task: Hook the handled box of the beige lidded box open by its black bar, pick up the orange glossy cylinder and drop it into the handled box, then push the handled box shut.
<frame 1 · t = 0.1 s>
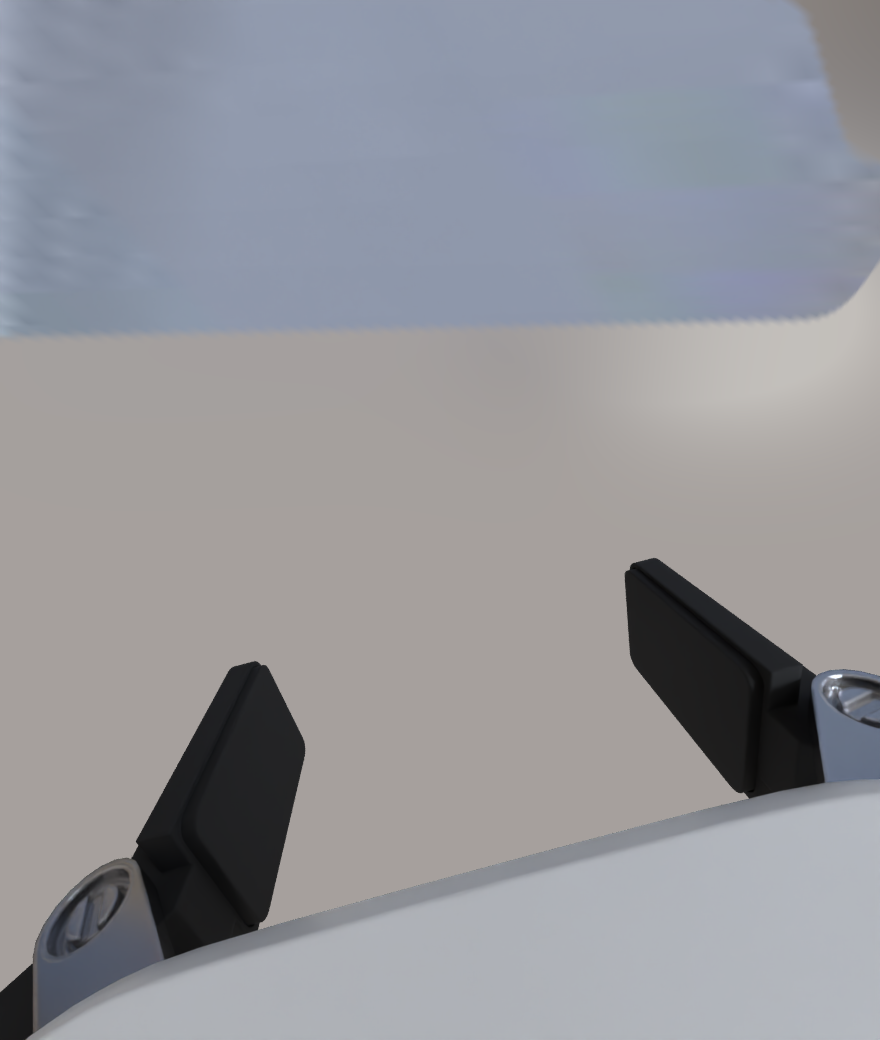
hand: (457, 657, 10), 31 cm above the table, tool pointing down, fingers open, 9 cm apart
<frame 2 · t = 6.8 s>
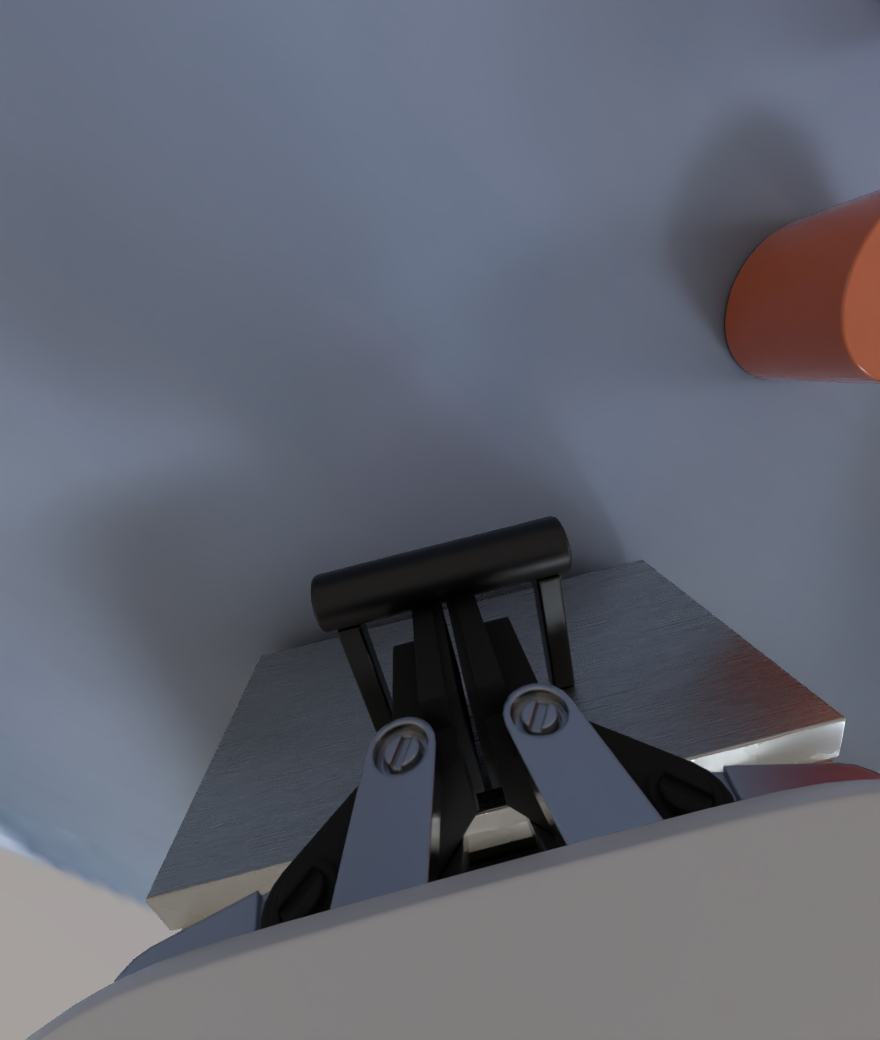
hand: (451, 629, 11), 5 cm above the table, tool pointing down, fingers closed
orange glossy cylinder: (793, 303, 14), on the table
handled box: (496, 784, 14), point 5 cm above the table, slide at 1.1 cm, touching gripper
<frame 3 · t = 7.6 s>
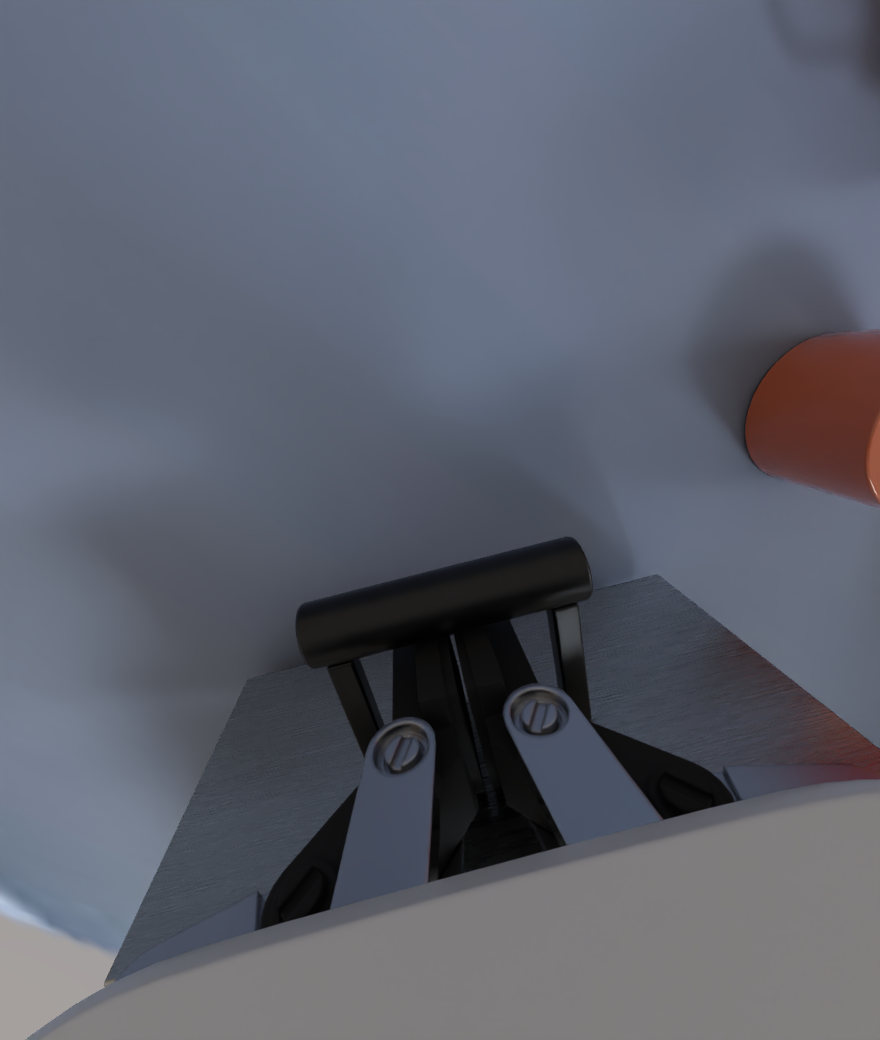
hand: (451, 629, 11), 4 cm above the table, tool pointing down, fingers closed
orange glossy cylinder: (812, 410, 14), on the table
handled box: (502, 821, 13), point 5 cm above the table, slide at 4.7 cm, touching gripper
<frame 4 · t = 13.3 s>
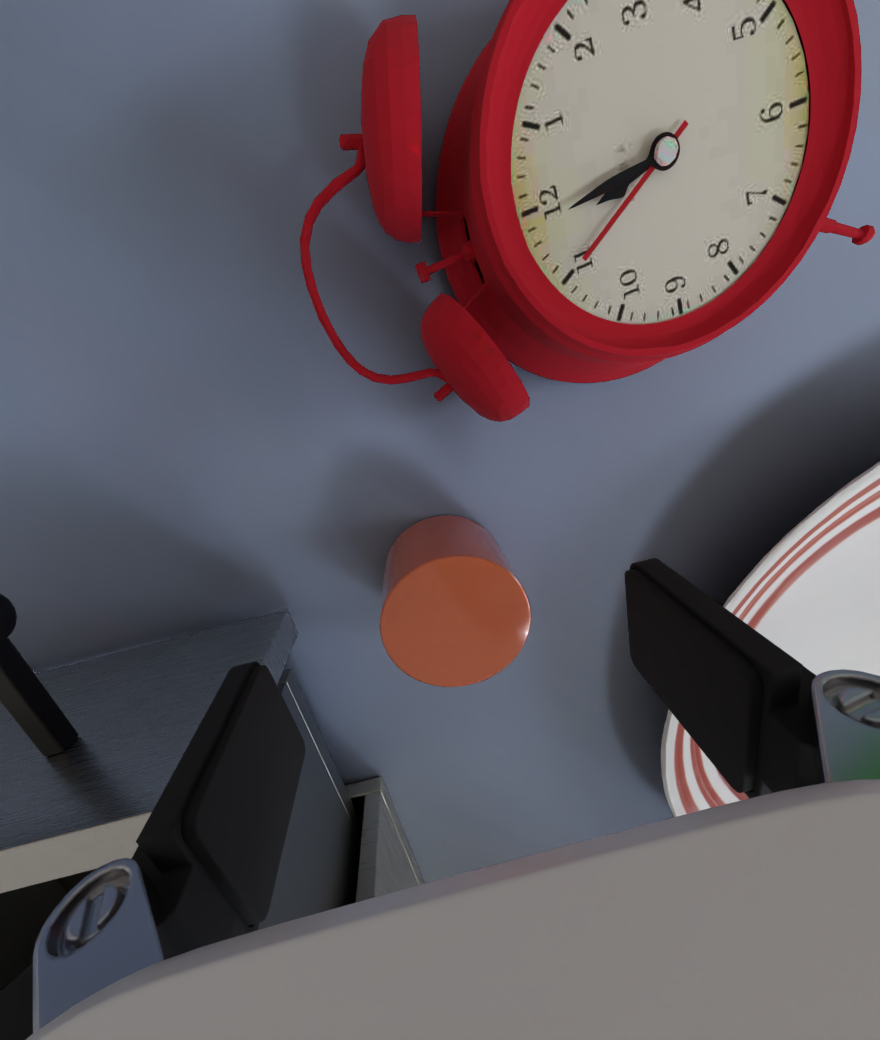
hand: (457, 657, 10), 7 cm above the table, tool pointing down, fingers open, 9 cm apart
orange glossy cylinder: (444, 571, 17), on the table
handled box: (90, 842, 14), point 5 cm above the table, slide at 9.6 cm, touching gripper
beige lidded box: (278, 907, 23), on the table
alarm clock: (543, 237, 14), on the table
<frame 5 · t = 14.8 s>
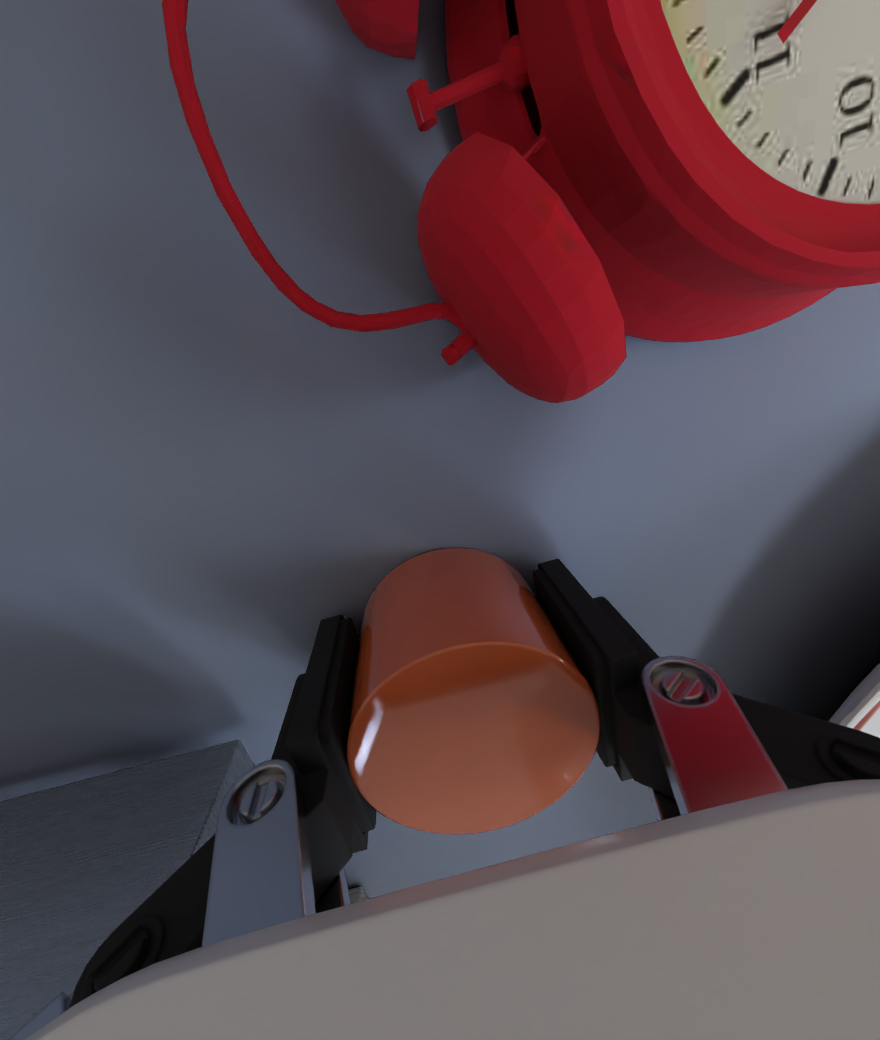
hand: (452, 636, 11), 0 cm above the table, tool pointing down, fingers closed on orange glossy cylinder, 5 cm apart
orange glossy cylinder: (450, 626, 12), on the table, touching gripper
alarm clock: (628, 82, 8), on the table
when the fingers open (6 cm above the table, at t = 21.4 s): orange glossy cylinder stays where it is, resting on handled box.
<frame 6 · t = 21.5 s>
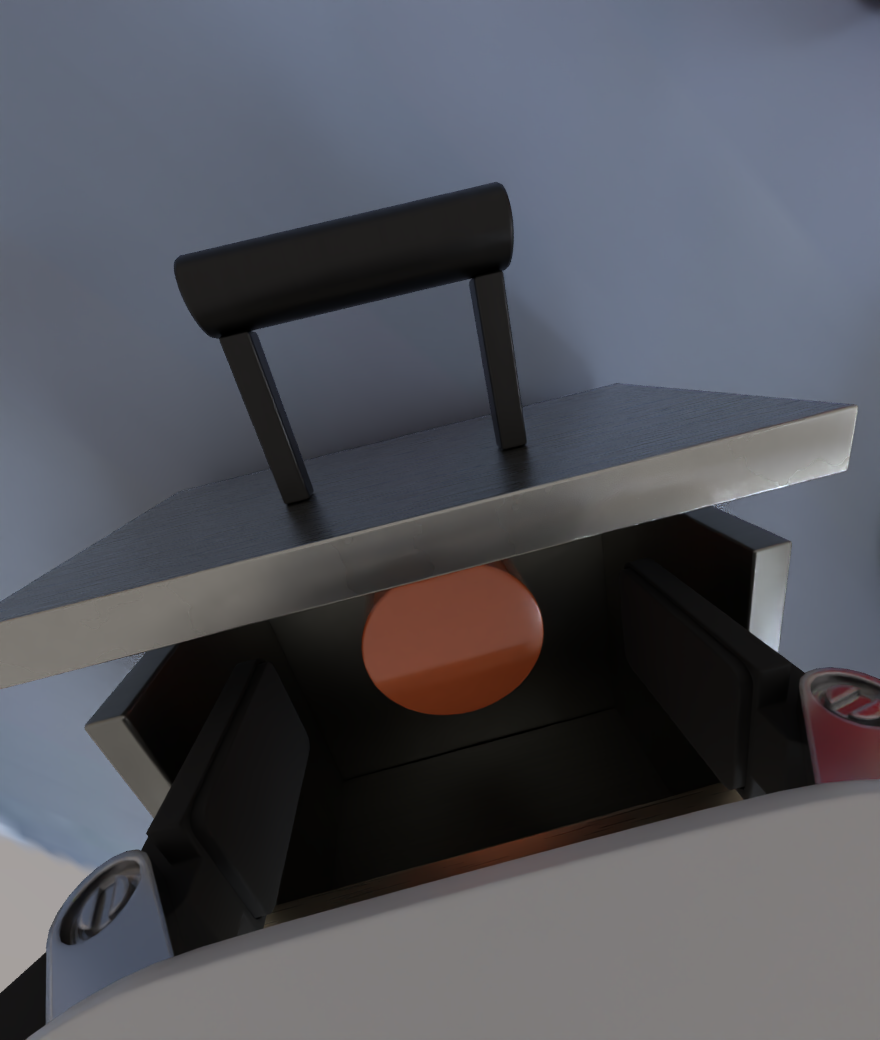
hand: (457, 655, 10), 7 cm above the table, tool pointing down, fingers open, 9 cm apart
orange glossy cylinder: (438, 574, 15), point 2 cm above the table, touching handled box
handled box: (445, 617, 12), point 5 cm above the table, slide at 7.3 cm, touching orange glossy cylinder
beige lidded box: (481, 745, 21), on the table
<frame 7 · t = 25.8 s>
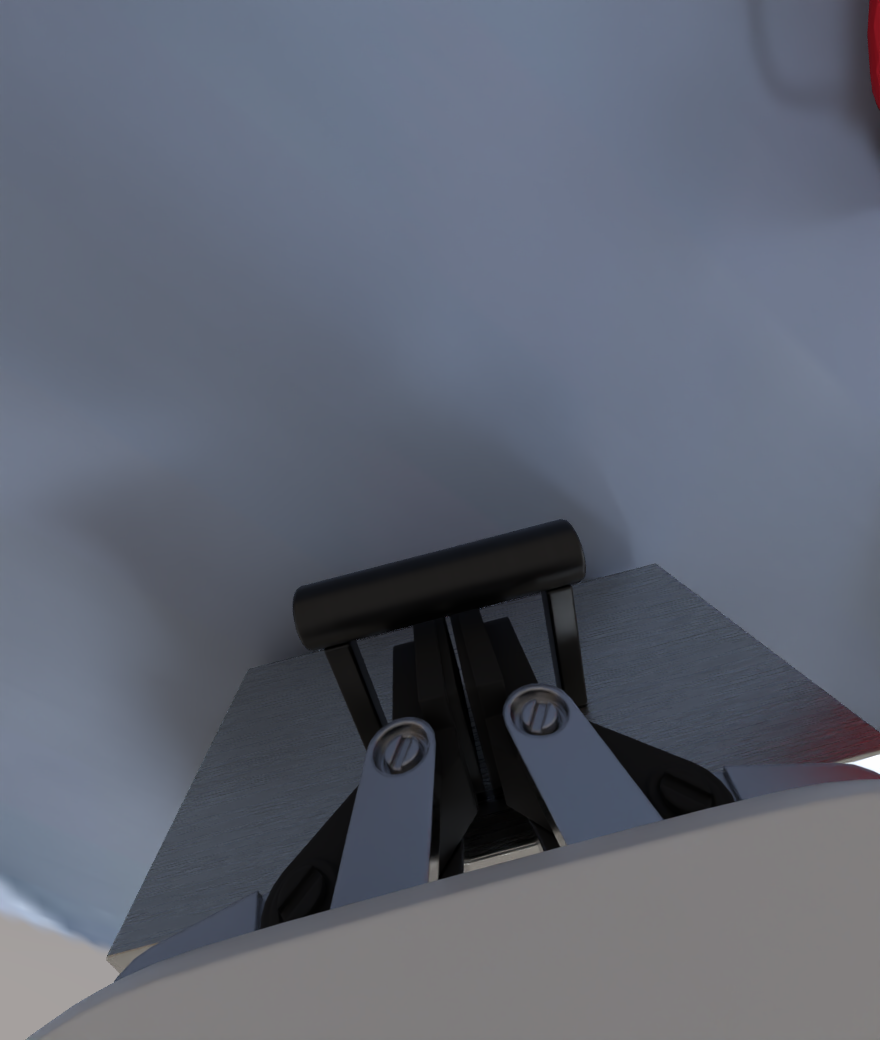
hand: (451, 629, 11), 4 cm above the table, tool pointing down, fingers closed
handled box: (501, 808, 13), point 5 cm above the table, slide at 5.8 cm, touching orange glossy cylinder
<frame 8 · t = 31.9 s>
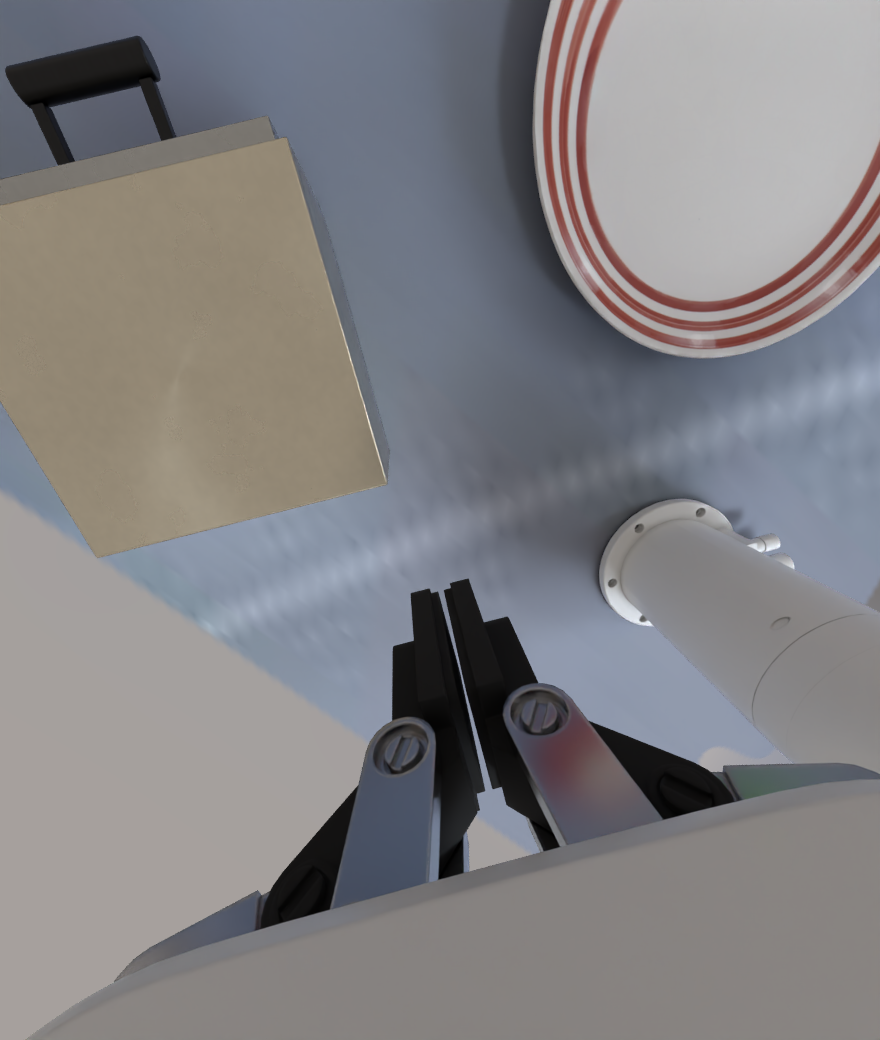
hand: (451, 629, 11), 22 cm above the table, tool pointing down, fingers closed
handled box: (186, 296, 23), point 5 cm above the table, slide at 0.0 cm, touching orange glossy cylinder
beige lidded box: (245, 373, 29), on the table
dinner plate: (722, 134, 27), on the table
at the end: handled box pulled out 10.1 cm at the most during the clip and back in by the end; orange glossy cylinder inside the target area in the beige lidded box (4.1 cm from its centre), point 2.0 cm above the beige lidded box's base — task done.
